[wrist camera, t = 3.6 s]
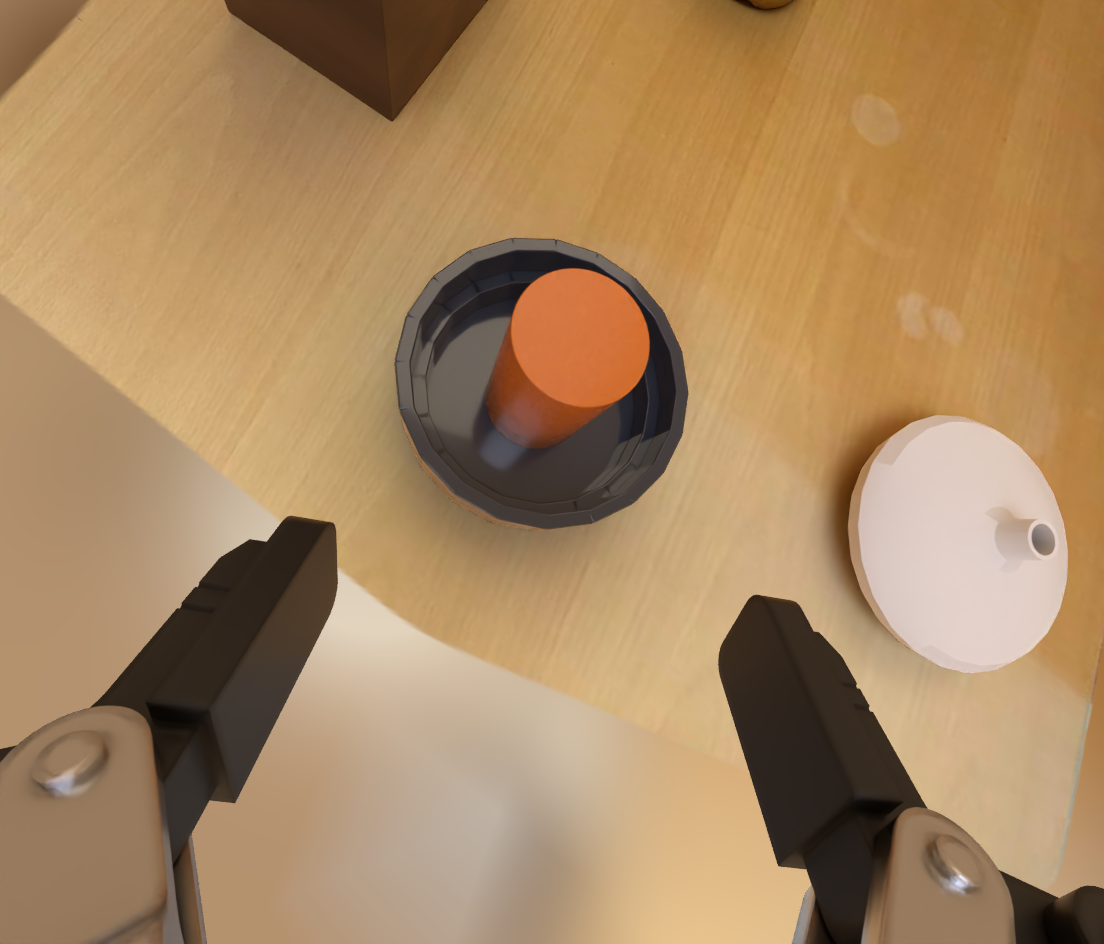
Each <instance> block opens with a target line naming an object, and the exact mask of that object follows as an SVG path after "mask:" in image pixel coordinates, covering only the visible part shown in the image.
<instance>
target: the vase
mask: <svg viewBox="0 0 1104 944" xmlns="http://www.w3.org/2000/svg"><path fill="white" fill-rule="evenodd" d="M848 533H849V544H850V554H851V561H852V564H853V567H854V570H855V573H856V576H857V579H858V582H859V585H860V589H861V591H862V593H863V595H864V597H865V598H866V600H867V602H868V603H869V605H870V607H871V609H872V610H873V612H874V614H875V615H876V617H877V619H878V620H879V621H880V622H881V623H882V624H883V625H884V626H885V627H886V628H887V629H888V630H889V632H890V633H891V634H892V635H893V636H894V637H895V638H896V639H897V640H898V641H899V642H901V643H902V644H904V645H905V646H907V647H909V648H910V649H912V650H913V651H915V652H917V653H918V654H920V655H922V656H923V657H925V658H927V659H928V660H930V661H932V662H933V663H935V664H937V665H938V666H940V667H943V668H948V669H952V670H956V671H960V672H965V673H976V672H985V671H994V670H997V669H999V668H1001V667H1003V666H1005V665H1007V664H1009V663H1011V662H1013V661H1015V660H1017V659H1019V658H1020V657H1022V656H1023V655H1025V654H1027V653H1028V652H1030V650H1031V649H1032V648H1033V647H1034V646H1035V645H1036V644H1037V643H1038V642H1039V641H1040V640H1041V639H1042V638H1043V637H1044V636H1045V635H1046V634H1047V633H1048V631H1049V629H1050V627H1051V625H1052V623H1053V621H1054V620H1055V618H1056V616H1057V614H1058V612H1059V610H1060V607H1061V603H1062V599H1063V595H1064V591H1065V587H1066V583H1067V565H1068V549H1067V542H1066V536H1065V529H1064V523H1063V519H1062V517H1061V514H1060V511H1059V508H1058V505H1057V502H1056V499H1055V497H1054V494H1053V492H1052V490H1051V488H1050V487H1049V485H1048V483H1047V481H1046V480H1045V478H1044V476H1043V474H1042V473H1041V471H1040V469H1039V468H1038V466H1037V465H1036V464H1035V463H1034V462H1033V461H1032V460H1031V459H1030V457H1029V456H1028V455H1027V454H1026V453H1025V452H1024V451H1023V450H1022V448H1021V447H1020V446H1018V445H1017V444H1016V443H1014V442H1013V441H1011V440H1010V439H1008V438H1007V437H1006V436H1004V435H1003V434H1001V433H1000V432H998V431H997V430H995V429H993V428H991V427H989V426H987V425H984V424H982V423H979V422H976V421H973V420H971V419H968V418H965V417H962V416H946V415H935V416H931V417H928V418H925V419H921V420H918V421H915V422H912V423H910V424H908V425H907V426H905V427H904V428H902V429H901V430H899V431H898V432H896V433H895V434H894V435H892V436H891V437H890V438H888V439H887V440H885V441H884V442H883V443H881V444H880V445H879V446H878V447H877V448H876V449H875V451H874V452H873V453H872V455H871V456H870V457H869V459H868V460H867V461H866V463H865V464H864V466H863V467H862V469H861V471H860V474H859V477H858V479H857V482H856V485H855V487H854V490H853V493H852V496H851V504H850V512H849V520H848Z"/></svg>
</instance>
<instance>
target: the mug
mask: <svg viewBox="0 0 1104 944" xmlns="http://www.w3.org/2000/svg"><path fill="white" fill-rule="evenodd" d="M748 1H750V2H751V3H752V4H753V5H754V6H756V7H759V8H761V9H771V8H778V7H781V6H784V5H786V4H788V3H789V2H791V1H792V0H748Z"/></svg>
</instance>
